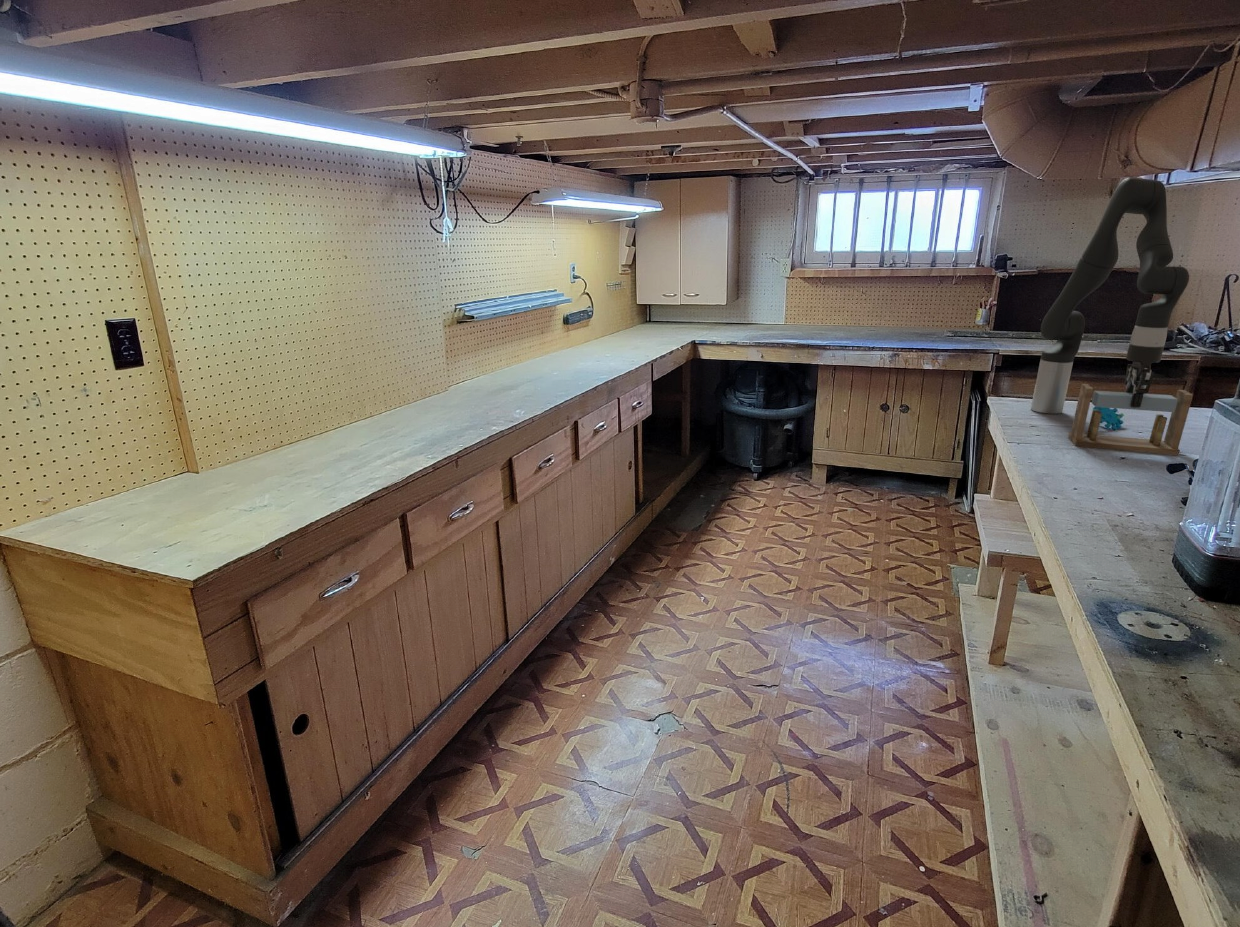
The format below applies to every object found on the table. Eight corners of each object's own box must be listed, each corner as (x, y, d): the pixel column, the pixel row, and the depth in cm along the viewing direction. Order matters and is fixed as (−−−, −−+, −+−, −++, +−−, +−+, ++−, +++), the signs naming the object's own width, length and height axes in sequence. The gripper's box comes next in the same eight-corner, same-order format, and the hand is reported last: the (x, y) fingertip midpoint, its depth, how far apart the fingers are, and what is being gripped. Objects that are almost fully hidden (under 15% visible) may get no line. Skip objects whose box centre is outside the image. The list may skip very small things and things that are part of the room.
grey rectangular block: (1167, 408, 184) (1171, 395, 183) (1174, 412, 180) (1178, 399, 179) (1091, 402, 191) (1094, 390, 189) (1095, 406, 186) (1098, 394, 185)
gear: (1104, 426, 202) (1092, 398, 206) (1088, 436, 207) (1076, 408, 211) (1132, 429, 205) (1119, 401, 209) (1115, 438, 210) (1103, 411, 214)
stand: (1068, 437, 197) (1080, 382, 192) (1166, 446, 189) (1182, 389, 183) (1075, 446, 189) (1088, 389, 184) (1178, 455, 181) (1195, 396, 175)
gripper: (1173, 348, 172) (1156, 412, 177) (1154, 340, 185) (1139, 400, 190) (1138, 346, 175) (1123, 409, 180) (1122, 339, 187) (1108, 398, 193)
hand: (1131, 404), depth 185 cm, fingers closed on grey rectangular block, 5 cm apart
